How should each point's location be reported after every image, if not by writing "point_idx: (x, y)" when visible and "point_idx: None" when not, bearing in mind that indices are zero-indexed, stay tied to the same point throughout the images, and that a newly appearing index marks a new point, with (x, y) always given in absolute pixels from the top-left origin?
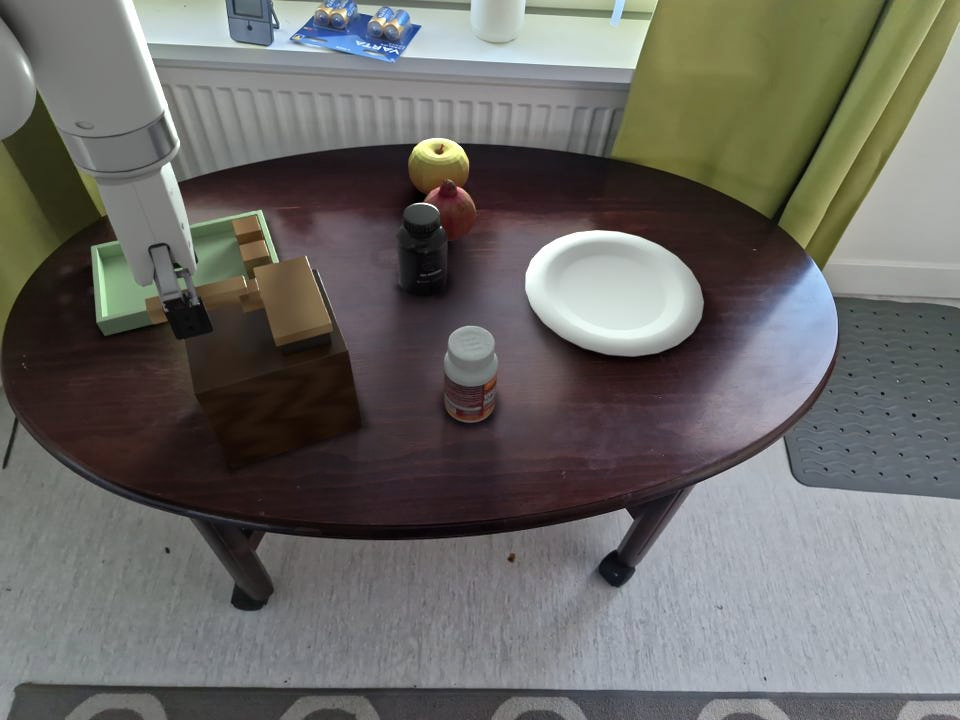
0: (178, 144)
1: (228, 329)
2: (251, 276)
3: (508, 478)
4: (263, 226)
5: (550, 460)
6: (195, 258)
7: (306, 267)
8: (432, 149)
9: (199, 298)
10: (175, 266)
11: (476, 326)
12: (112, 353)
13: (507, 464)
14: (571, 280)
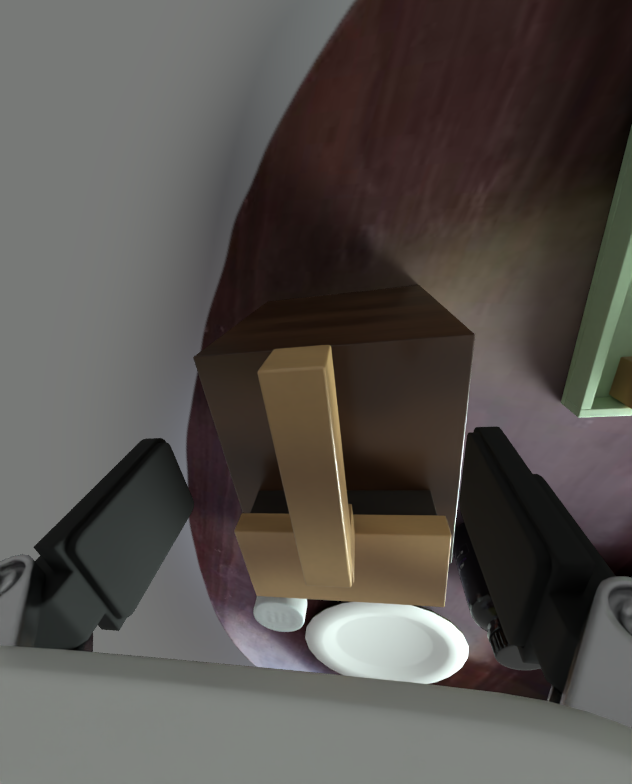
0: None
1: (345, 425)
2: (624, 364)
3: (219, 521)
4: None
5: (231, 548)
6: (466, 525)
7: (407, 602)
8: None
9: (109, 625)
10: (467, 463)
11: (300, 627)
12: (582, 79)
13: (231, 525)
14: (409, 629)
